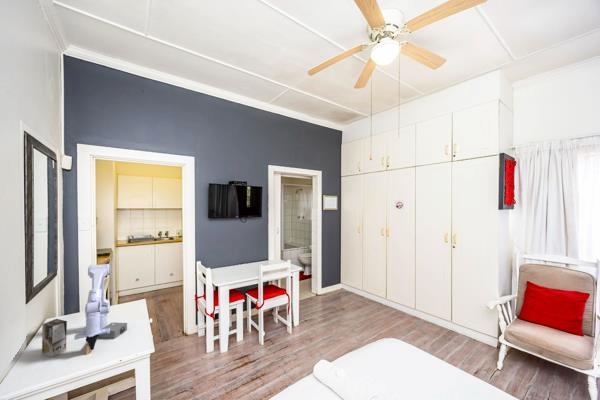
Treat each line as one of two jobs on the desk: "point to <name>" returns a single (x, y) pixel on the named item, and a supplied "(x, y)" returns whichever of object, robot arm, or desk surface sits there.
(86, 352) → the side door
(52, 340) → the coffee box
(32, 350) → the desk surface
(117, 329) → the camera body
